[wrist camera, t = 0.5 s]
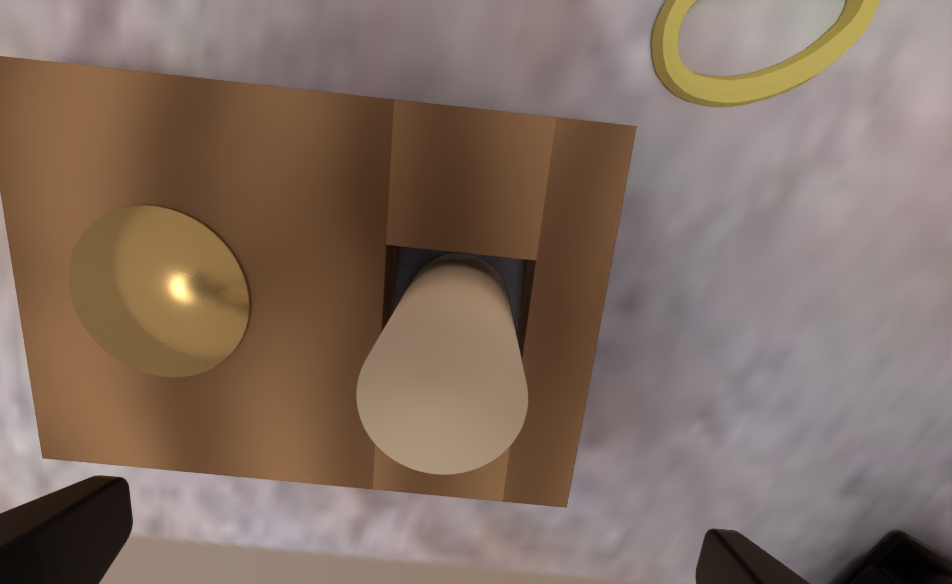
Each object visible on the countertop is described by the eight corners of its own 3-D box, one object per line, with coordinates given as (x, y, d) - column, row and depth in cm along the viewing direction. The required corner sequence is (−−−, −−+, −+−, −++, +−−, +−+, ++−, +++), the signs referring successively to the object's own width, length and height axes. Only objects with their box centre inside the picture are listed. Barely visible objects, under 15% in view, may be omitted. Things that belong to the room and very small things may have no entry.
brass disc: (279, 264, 16) (277, 265, 16) (210, 403, 17) (207, 405, 17) (108, 169, 15) (103, 169, 15) (50, 322, 16) (45, 324, 16)
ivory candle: (527, 286, 18) (561, 373, 11) (475, 366, 19) (471, 500, 12) (439, 234, 18) (408, 286, 10) (389, 319, 19) (327, 426, 11)
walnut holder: (614, 132, 17) (636, 126, 14) (556, 467, 21) (566, 507, 18) (51, 70, 16) (-22, 53, 14) (94, 423, 20) (42, 458, 18)
